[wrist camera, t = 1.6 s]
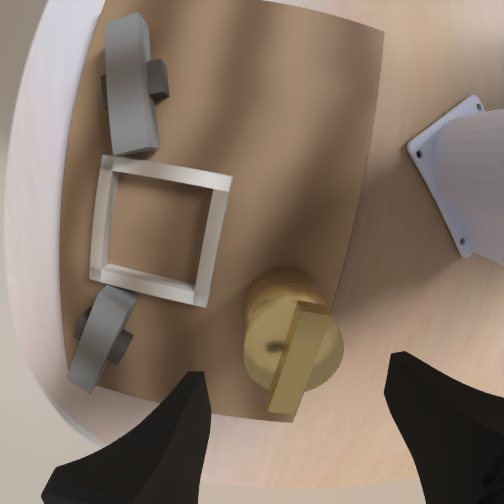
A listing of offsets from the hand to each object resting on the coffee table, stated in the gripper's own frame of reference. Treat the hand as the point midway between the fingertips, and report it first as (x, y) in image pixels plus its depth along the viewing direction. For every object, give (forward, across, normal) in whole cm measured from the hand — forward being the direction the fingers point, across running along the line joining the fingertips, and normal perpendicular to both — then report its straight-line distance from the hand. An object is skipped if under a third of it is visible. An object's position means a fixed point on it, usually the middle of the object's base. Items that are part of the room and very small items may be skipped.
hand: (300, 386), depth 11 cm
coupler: (+8, 0, 0) cm, 8 cm away
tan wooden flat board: (+9, +5, -5) cm, 12 cm away
